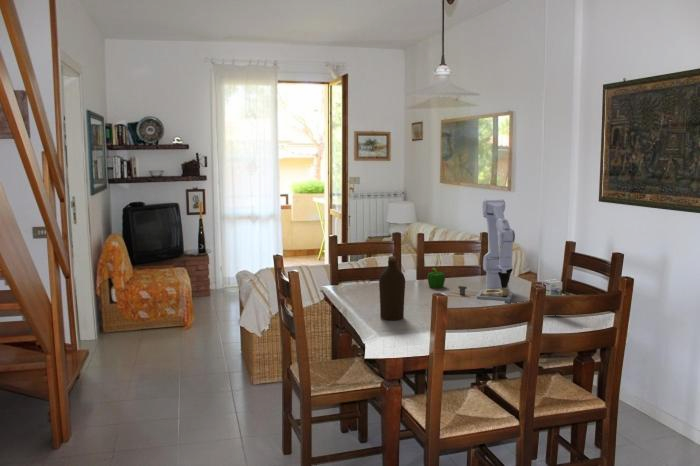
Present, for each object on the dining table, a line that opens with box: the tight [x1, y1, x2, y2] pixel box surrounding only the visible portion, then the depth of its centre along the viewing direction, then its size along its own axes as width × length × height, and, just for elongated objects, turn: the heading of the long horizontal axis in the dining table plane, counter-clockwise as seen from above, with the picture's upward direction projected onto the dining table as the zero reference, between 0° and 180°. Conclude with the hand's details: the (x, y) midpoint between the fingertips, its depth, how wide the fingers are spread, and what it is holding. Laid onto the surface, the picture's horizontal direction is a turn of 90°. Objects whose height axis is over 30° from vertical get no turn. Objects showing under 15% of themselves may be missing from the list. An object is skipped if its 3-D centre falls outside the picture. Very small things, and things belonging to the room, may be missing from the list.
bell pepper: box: [427, 267, 446, 289], centre depth 305 cm, size 8×8×10 cm
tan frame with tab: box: [481, 283, 510, 298], centre depth 284 cm, size 12×9×6 cm
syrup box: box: [542, 278, 563, 296], centre depth 254 cm, size 6×6×14 cm
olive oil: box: [378, 255, 406, 321], centre depth 250 cm, size 11×11×25 cm
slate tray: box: [476, 289, 513, 304], centre depth 285 cm, size 14×14×2 cm
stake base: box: [447, 285, 479, 299], centre depth 289 cm, size 12×12×5 cm
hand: (504, 285), depth 282 cm, fingers open, 7 cm apart
